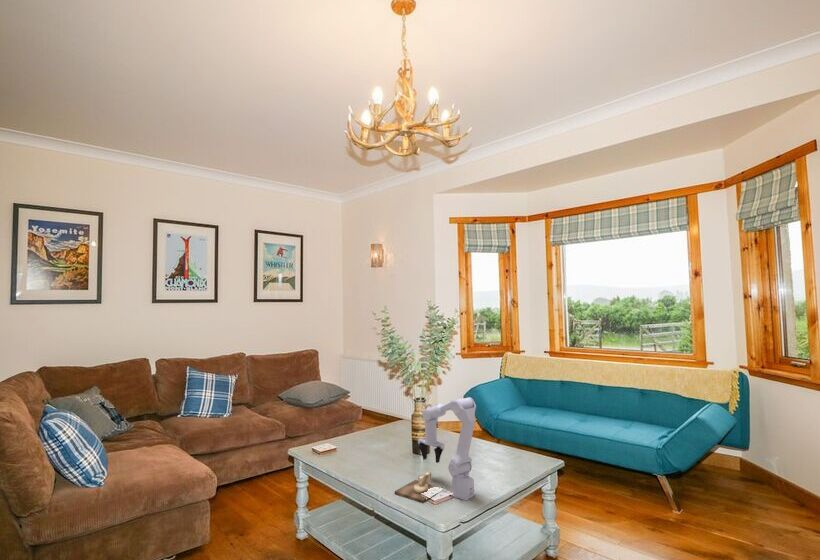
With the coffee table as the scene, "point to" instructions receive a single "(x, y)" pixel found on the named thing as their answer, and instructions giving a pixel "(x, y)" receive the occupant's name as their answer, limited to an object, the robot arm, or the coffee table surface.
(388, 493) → the coffee table surface
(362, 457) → the coffee table surface
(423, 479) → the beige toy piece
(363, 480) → the coffee table surface
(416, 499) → the plate
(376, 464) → the coffee table surface
